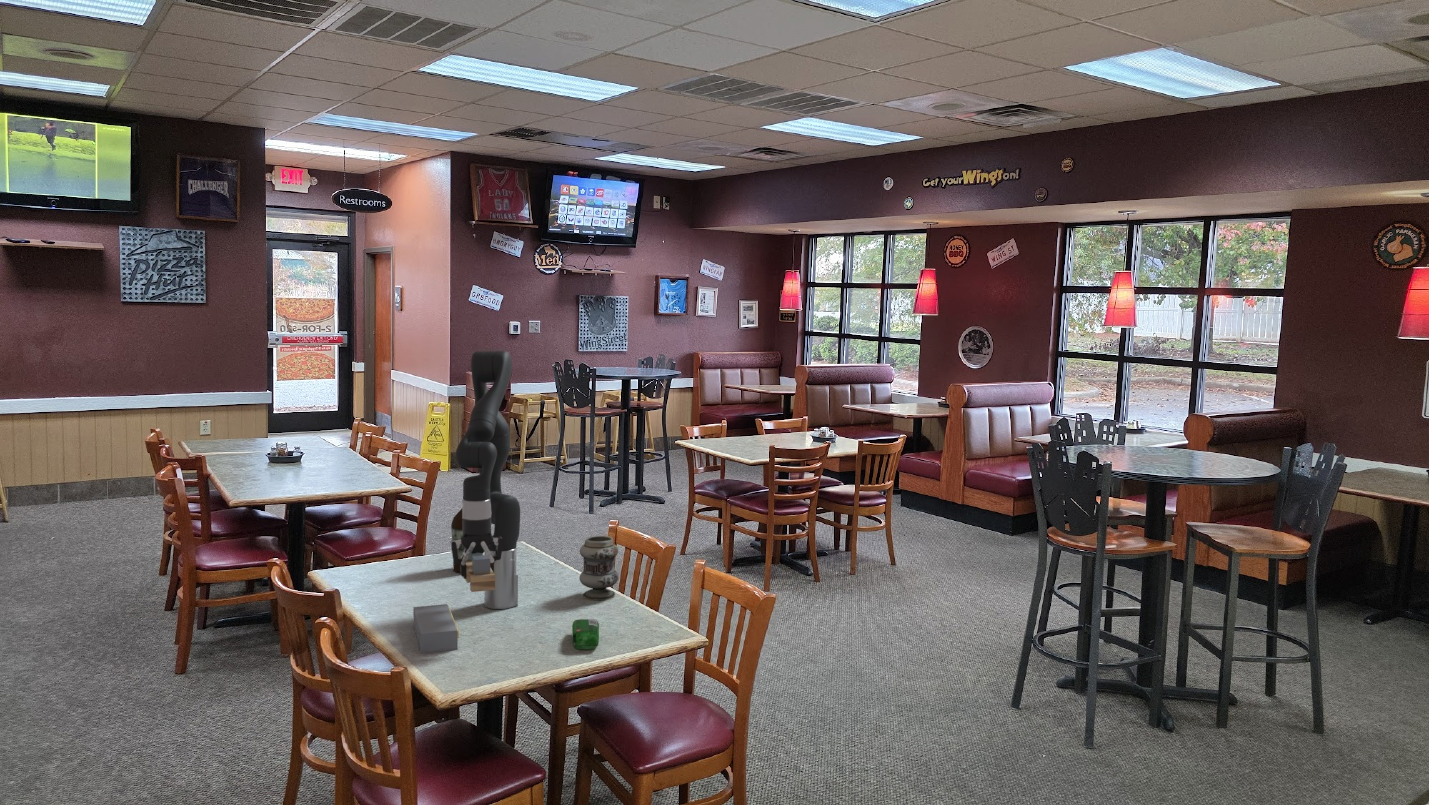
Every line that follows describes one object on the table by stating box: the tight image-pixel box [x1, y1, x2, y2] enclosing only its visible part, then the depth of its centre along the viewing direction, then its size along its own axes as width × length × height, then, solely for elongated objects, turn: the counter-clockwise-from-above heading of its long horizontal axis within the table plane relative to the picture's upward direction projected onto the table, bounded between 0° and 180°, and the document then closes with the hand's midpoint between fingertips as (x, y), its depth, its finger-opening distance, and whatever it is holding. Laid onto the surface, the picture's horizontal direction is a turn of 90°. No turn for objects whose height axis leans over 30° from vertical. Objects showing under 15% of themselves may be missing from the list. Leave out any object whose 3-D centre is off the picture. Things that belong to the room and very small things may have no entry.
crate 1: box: [467, 553, 482, 561], centre depth 263 cm, size 4×4×4 cm
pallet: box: [461, 556, 495, 593], centre depth 257 cm, size 21×6×4 cm, turn 22°
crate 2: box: [472, 554, 490, 575], centre depth 250 cm, size 4×4×4 cm
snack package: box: [571, 618, 600, 650], centre depth 253 cm, size 7×16×5 cm, turn 7°
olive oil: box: [450, 508, 484, 574], centre depth 318 cm, size 11×11×25 cm
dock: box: [412, 603, 460, 654], centre depth 254 cm, size 9×23×5 cm, turn 22°
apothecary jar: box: [578, 535, 620, 601], centre depth 293 cm, size 12×12×18 cm
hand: (477, 576), depth 257 cm, fingers closed on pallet, 6 cm apart
